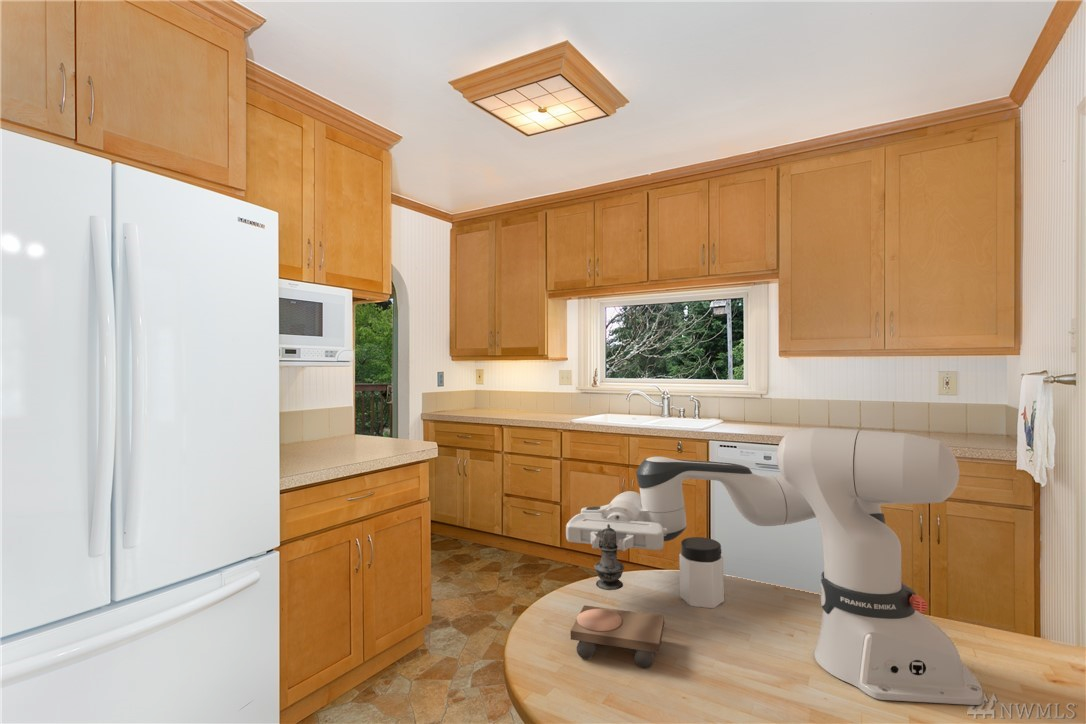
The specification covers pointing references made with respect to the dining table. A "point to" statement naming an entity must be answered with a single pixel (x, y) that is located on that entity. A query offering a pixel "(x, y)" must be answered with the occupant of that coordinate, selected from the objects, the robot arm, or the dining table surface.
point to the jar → (701, 572)
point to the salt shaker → (609, 562)
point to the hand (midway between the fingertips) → (608, 545)
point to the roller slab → (618, 632)
